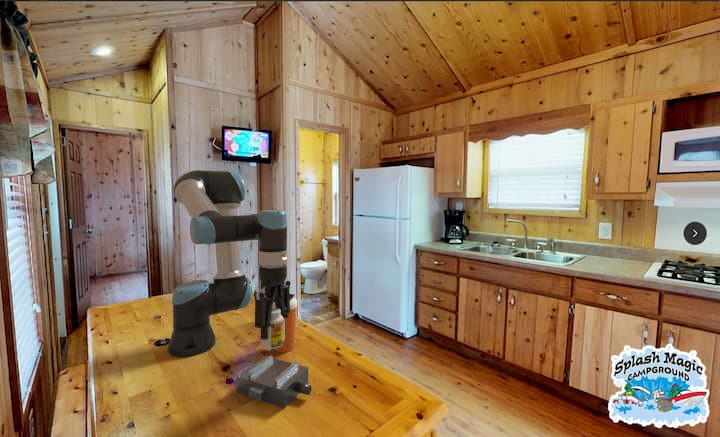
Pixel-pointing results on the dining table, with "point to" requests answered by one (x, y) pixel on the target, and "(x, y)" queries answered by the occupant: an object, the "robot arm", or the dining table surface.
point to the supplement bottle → (276, 328)
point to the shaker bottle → (289, 327)
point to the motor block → (274, 381)
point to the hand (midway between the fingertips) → (273, 343)
